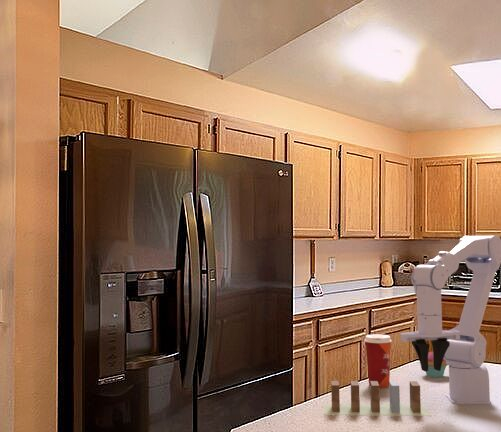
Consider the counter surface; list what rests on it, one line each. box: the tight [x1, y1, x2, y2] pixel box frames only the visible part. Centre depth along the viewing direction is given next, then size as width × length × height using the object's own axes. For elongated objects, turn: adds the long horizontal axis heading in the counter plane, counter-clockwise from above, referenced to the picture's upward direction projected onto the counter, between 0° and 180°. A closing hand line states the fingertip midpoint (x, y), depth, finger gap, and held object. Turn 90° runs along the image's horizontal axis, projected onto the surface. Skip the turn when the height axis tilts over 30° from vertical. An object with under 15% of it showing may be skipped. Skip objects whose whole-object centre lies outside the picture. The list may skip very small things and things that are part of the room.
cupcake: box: [425, 351, 448, 378], centre depth 184 cm, size 9×8×12 cm
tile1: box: [409, 380, 422, 413], centre depth 148 cm, size 2×4×6 cm, turn 174°
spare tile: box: [388, 380, 401, 413], centre depth 148 cm, size 2×4×6 cm, turn 175°
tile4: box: [350, 380, 361, 412], centre depth 149 cm, size 2×4×6 cm, turn 174°
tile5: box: [330, 380, 341, 412], centre depth 150 cm, size 2×4×6 cm, turn 174°
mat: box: [323, 403, 432, 417], centre depth 149 cm, size 25×9×1 cm, turn 84°
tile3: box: [369, 381, 381, 412], centre depth 149 cm, size 2×4×6 cm, turn 174°
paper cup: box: [364, 333, 393, 389], centre depth 173 cm, size 8×8×14 cm
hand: (431, 370), depth 148 cm, fingers open, 3 cm apart
